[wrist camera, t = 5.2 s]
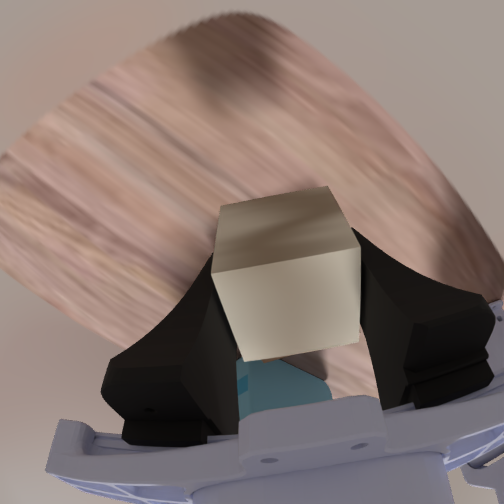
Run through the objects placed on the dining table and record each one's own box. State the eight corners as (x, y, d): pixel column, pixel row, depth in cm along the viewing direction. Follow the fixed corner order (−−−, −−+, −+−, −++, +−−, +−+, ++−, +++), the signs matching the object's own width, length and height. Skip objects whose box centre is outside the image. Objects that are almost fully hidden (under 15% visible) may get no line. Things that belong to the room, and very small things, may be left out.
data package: (219, 363, 31) (214, 476, 21) (249, 342, 29) (252, 466, 19) (300, 398, 35) (311, 490, 25) (330, 382, 33) (347, 479, 24)
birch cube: (327, 186, 13) (360, 246, 9) (334, 270, 15) (358, 342, 12) (220, 206, 13) (210, 273, 10) (244, 287, 16) (244, 361, 12)
